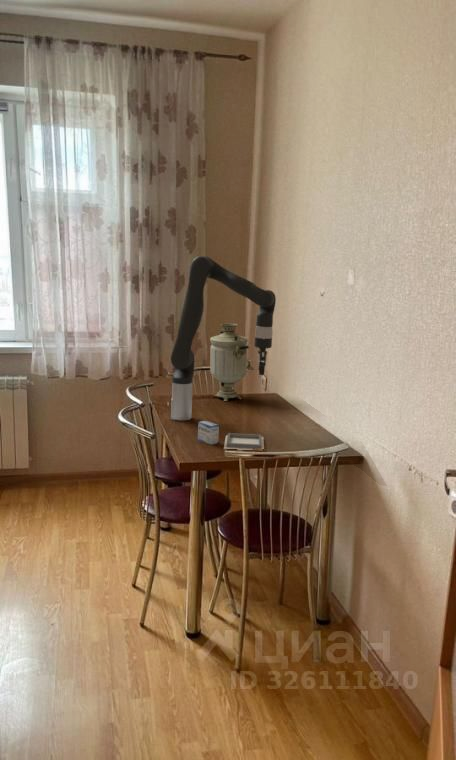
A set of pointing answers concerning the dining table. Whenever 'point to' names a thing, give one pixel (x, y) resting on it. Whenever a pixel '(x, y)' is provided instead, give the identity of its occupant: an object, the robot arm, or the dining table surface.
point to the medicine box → (208, 432)
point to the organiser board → (243, 441)
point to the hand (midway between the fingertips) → (261, 372)
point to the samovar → (228, 359)
